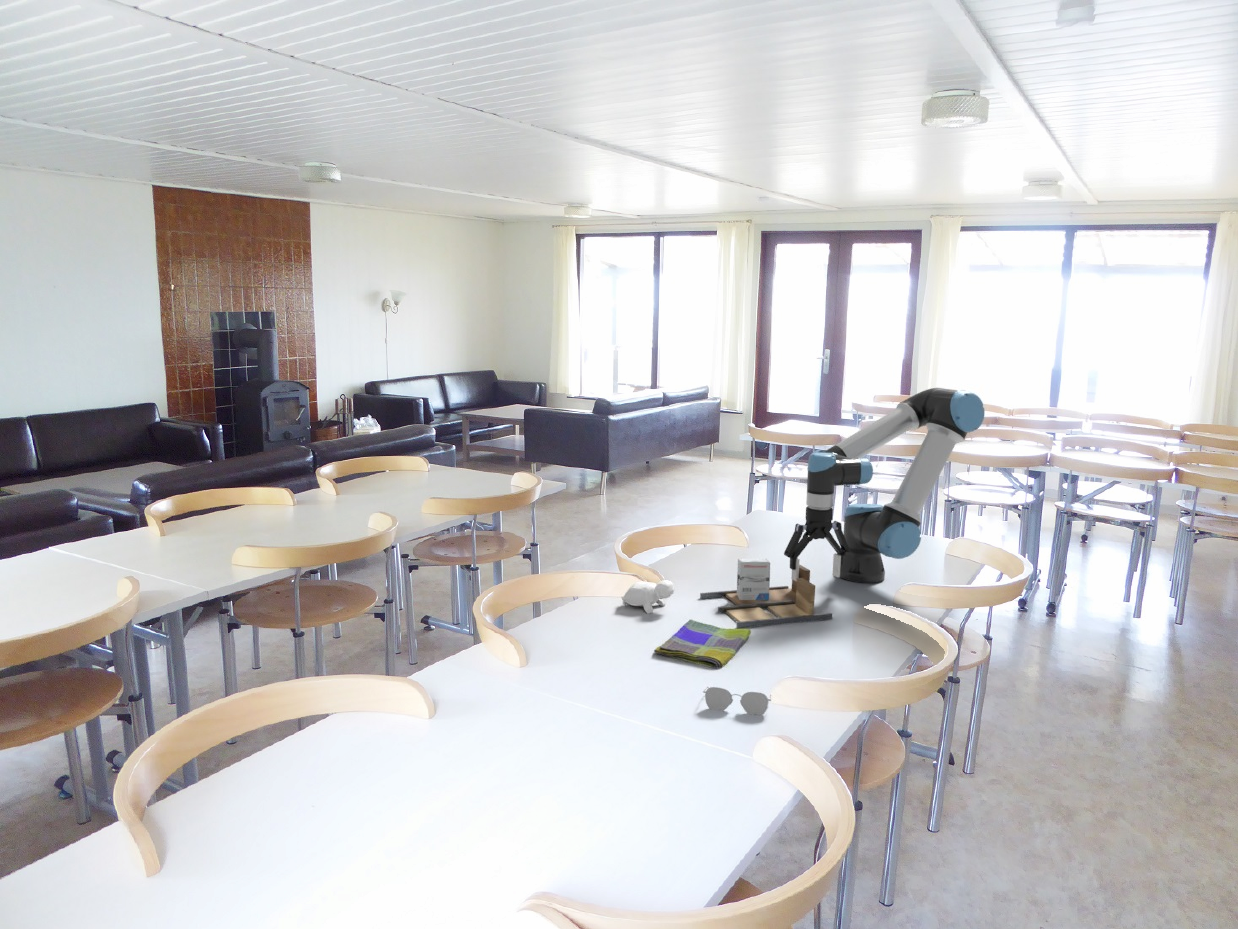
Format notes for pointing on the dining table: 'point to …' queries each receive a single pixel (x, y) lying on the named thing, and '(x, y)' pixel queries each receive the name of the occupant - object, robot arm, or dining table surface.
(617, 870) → the dining table surface
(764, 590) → the ink box
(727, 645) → the dish towel
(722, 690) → the sunglasses
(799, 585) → the wooden l-shaped stand
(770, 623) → the lane rails
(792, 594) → the tan wooden holder
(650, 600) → the white animal figurine
